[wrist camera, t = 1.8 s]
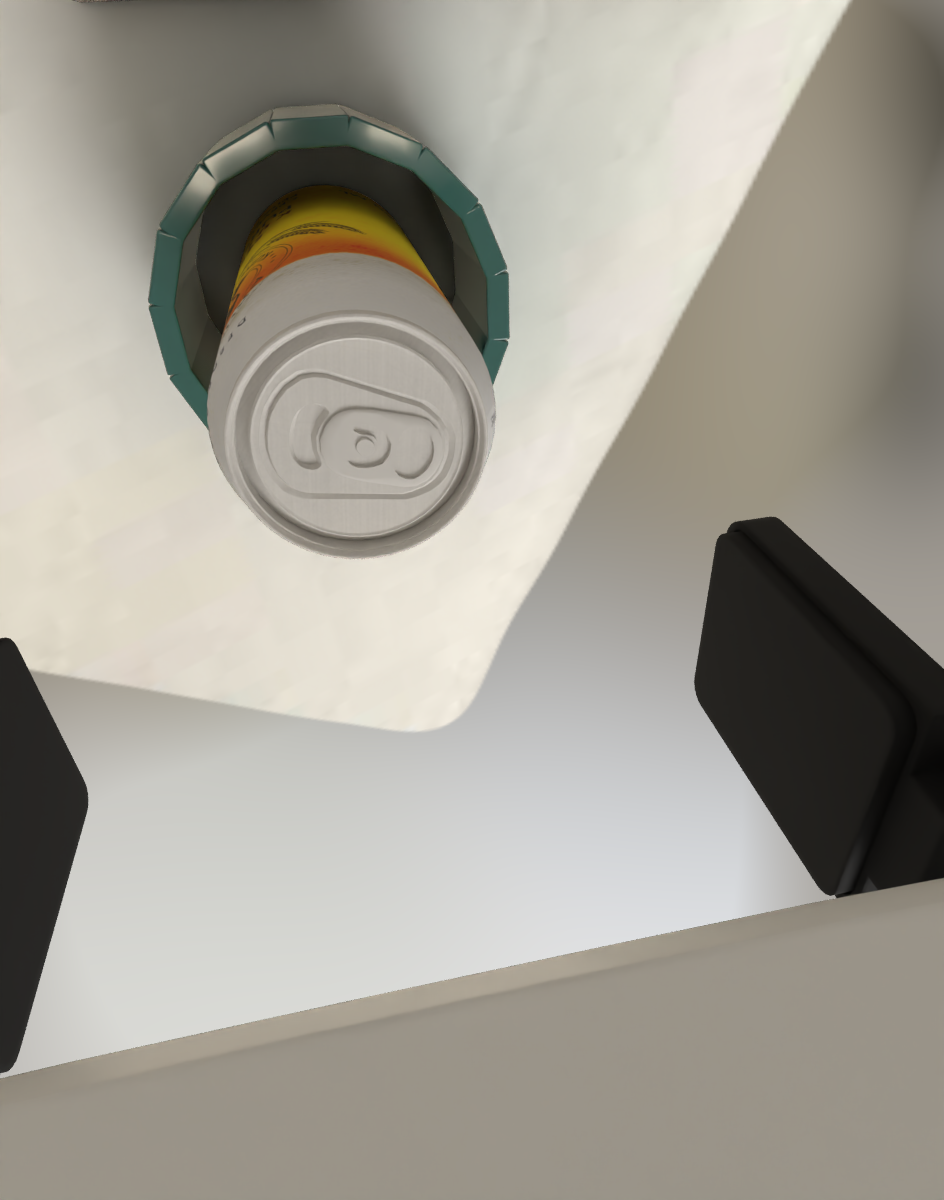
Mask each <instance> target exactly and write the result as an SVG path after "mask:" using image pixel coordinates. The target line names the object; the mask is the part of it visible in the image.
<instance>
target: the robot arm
mask: <svg viewBox="0 0 944 1200" xmlns="http://www.w3.org/2000/svg"><path fill="white" fill-rule="evenodd" d="M694 683H695V691H696V695H697V698H698V701H699V703H700V704H701V706H702V708H703V709H704V711H705V713H706V714H707V715H708V717H709V719H710V720H711V722H712V723H713V724H714V726H715V728H716V729H717V731H718V733H719V734H720V736H721V737H722V739H723V740H724V742H725V743H726V745H727V747H728V748H729V750H730V751H731V753H732V754H733V756H734V757H735V759H736V761H737V762H738V764H739V765H740V767H741V768H742V770H743V771H744V773H745V774H746V776H747V778H748V779H749V781H750V782H751V784H752V785H753V787H754V788H755V790H756V791H757V793H758V795H759V796H760V798H761V799H762V801H763V802H764V803H765V805H766V807H767V808H768V810H769V811H770V813H771V815H772V816H773V818H774V819H775V821H776V822H777V824H778V826H779V827H780V829H781V830H782V832H783V833H784V835H785V836H786V838H787V839H788V841H789V843H790V844H791V845H792V847H793V849H794V850H795V852H796V853H797V855H798V856H799V858H800V859H801V861H802V863H803V864H804V865H805V867H806V869H807V870H808V872H809V873H810V875H811V876H812V878H813V879H814V881H815V883H816V884H817V886H818V887H819V888H820V889H821V890H822V891H823V892H824V893H825V894H827V895H830V896H831V895H835V896H836V899H831V900H825V901H820V902H815V903H810V904H805V905H800V906H795V907H790V908H786V909H781V910H776V911H771V912H766V913H762V914H757V915H752V916H747V917H743V918H738V919H733V920H728V921H723V922H719V923H714V924H709V925H704V926H700V927H694V928H690V929H686V930H680V931H676V932H671V933H666V934H661V935H656V936H652V937H647V938H642V939H637V940H632V941H627V942H623V943H618V944H614V945H608V946H603V947H599V948H594V949H589V950H585V951H580V952H575V953H571V954H566V955H561V956H557V957H552V958H547V959H542V960H538V961H533V962H528V963H524V964H519V965H514V966H510V967H505V968H500V969H496V970H491V971H486V972H482V973H477V974H472V975H467V976H463V977H458V978H454V979H450V980H445V981H439V982H435V983H430V984H426V985H421V986H417V987H412V988H407V989H402V990H398V991H393V992H388V993H384V994H379V995H375V996H370V997H366V998H360V999H356V1000H351V1001H346V1002H342V1003H337V1004H333V1005H328V1006H324V1007H319V1008H314V1009H310V1010H305V1011H300V1012H296V1013H292V1014H287V1015H282V1016H278V1017H273V1018H269V1019H264V1020H260V1021H255V1022H251V1023H246V1024H241V1025H237V1026H232V1027H228V1028H224V1029H219V1030H214V1031H209V1032H205V1033H200V1034H196V1035H191V1036H187V1037H183V1038H177V1039H173V1040H168V1041H164V1042H159V1043H155V1044H150V1045H146V1046H141V1047H136V1048H132V1049H127V1050H123V1051H119V1052H114V1053H109V1054H105V1055H100V1056H95V1057H91V1058H86V1059H82V1060H78V1061H73V1062H68V1063H64V1064H60V1065H56V1066H51V1067H47V1068H43V1069H39V1070H34V1071H30V1072H26V1073H22V1074H18V1075H13V1076H9V1077H5V1078H1V1079H0V1200H944V669H943V668H942V667H941V666H940V665H939V664H938V663H937V662H935V661H934V660H933V659H932V658H931V657H930V656H929V655H928V654H927V653H926V652H925V651H923V650H922V649H921V648H920V647H919V646H918V645H917V644H916V643H915V642H914V641H912V640H911V639H910V638H909V637H908V636H907V635H906V634H905V633H904V632H903V631H902V630H900V629H899V628H898V627H897V626H896V625H895V624H894V623H893V622H892V621H891V620H889V619H888V618H887V617H886V616H885V615H884V614H883V613H882V612H881V611H880V610H878V609H877V608H876V607H875V606H874V605H873V604H872V603H871V602H870V601H869V600H868V599H866V598H865V597H864V596H863V595H862V594H861V593H860V592H859V591H858V590H857V589H856V588H854V587H853V586H852V585H851V584H850V583H849V582H848V581H847V580H846V579H845V578H843V577H842V576H841V575H840V574H839V573H838V572H837V571H836V570H835V569H833V568H832V567H831V566H830V565H829V564H828V563H827V562H826V561H825V560H824V559H823V558H822V557H820V556H819V555H818V554H817V553H816V552H815V551H814V550H813V549H812V548H811V547H809V546H808V545H807V544H806V543H805V542H804V541H803V540H802V539H801V538H799V537H798V536H797V535H796V534H795V533H794V532H793V531H792V530H791V529H790V528H789V527H788V526H786V525H785V524H784V523H783V522H782V521H781V520H780V519H778V518H776V517H765V518H758V519H752V520H745V521H738V522H734V523H732V524H731V525H730V527H729V528H728V530H727V533H725V534H722V535H720V536H719V538H718V539H717V542H716V547H715V553H714V559H713V566H712V572H711V578H710V585H709V591H708V597H707V603H706V610H705V617H704V622H703V629H702V635H701V642H700V647H699V654H698V660H697V666H696V672H695V681H694ZM87 809H88V792H87V787H86V784H85V782H84V780H83V777H82V775H81V773H80V771H79V769H78V767H77V765H76V763H75V761H74V759H73V758H72V755H71V753H70V752H69V749H68V748H67V745H66V743H65V741H64V740H63V738H62V736H61V734H60V732H59V730H58V728H57V726H56V724H55V722H54V720H53V718H52V716H51V714H50V712H49V710H48V708H47V706H46V704H45V702H44V700H43V698H42V696H41V694H40V692H39V690H38V688H37V686H36V684H35V682H34V680H33V678H32V676H31V674H30V672H29V670H28V668H27V666H26V664H25V662H24V660H23V658H22V656H21V654H20V652H19V650H18V648H17V646H16V644H15V643H14V642H13V641H12V640H11V639H9V638H0V1073H3V1072H7V1071H9V1070H10V1069H11V1068H12V1067H13V1065H14V1063H15V1062H16V1060H17V1057H18V1054H19V1051H20V1048H21V1044H22V1041H23V1037H24V1034H25V1030H26V1027H27V1023H28V1019H29V1015H30V1012H31V1009H32V1005H33V1002H34V998H35V994H36V991H37V987H38V984H39V980H40V977H41V973H42V970H43V966H44V963H45V959H46V956H47V952H48V949H49V945H50V941H51V938H52V934H53V931H54V927H55V924H56V920H57V916H58V913H59V910H60V906H61V902H62V898H63V895H64V892H65V888H66V885H67V881H68V878H69V874H70V871H71V866H72V863H73V860H74V856H75V853H76V849H77V846H78V842H79V839H80V835H81V832H82V828H83V824H84V821H85V817H86V814H87Z"/></svg>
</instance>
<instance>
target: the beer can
mask: <svg viewBox="0 0 944 1200" xmlns="http://www.w3.org/2000/svg"><path fill="white" fill-rule="evenodd" d="M495 419H496V411H495V397H494V391H493V385H492V382H491V378H490V375H489V371H488V369H487V366H486V364H485V362H484V359H483V357H482V355H481V353H480V351H479V350H478V348H477V346H476V344H475V343H474V341H473V339H472V338H471V336H470V335H469V333H468V331H467V330H466V328H465V327H464V325H463V324H462V322H461V321H460V319H459V317H458V316H457V314H456V313H455V311H454V310H453V308H452V307H451V305H450V303H449V302H448V300H447V299H446V297H445V296H444V294H443V293H442V291H441V289H440V288H439V286H438V285H437V283H436V282H435V280H434V278H433V277H432V275H431V274H430V272H429V271H428V269H427V268H426V266H425V264H424V263H423V261H422V260H421V258H420V257H419V255H418V254H417V252H416V250H415V249H414V247H413V246H412V244H411V243H410V241H409V240H408V238H407V236H406V235H405V233H404V232H403V230H402V229H401V227H400V226H399V225H398V223H397V222H396V220H395V219H394V218H393V217H392V216H391V215H390V214H389V213H388V212H387V211H386V210H385V209H384V208H383V207H382V206H380V205H379V204H378V203H376V202H375V201H373V200H372V199H371V198H369V197H367V196H365V195H363V194H361V193H359V192H356V191H354V190H351V189H348V188H344V187H339V186H331V185H316V186H309V187H304V188H301V189H297V190H295V191H292V192H290V193H288V194H286V195H284V196H282V197H281V198H279V199H278V200H276V201H275V202H274V203H272V204H271V205H270V206H269V207H268V208H267V209H266V210H265V211H264V212H263V213H262V214H261V215H260V217H259V218H258V220H257V221H256V222H255V224H254V226H253V228H252V229H251V231H250V233H249V236H248V238H247V241H246V244H245V248H244V252H243V255H242V259H241V263H240V267H239V271H238V275H237V279H236V283H235V287H234V291H233V295H232V299H231V303H230V306H229V310H228V314H227V318H226V322H225V326H224V330H223V334H222V338H221V342H220V346H219V350H218V354H217V358H216V361H215V365H214V369H213V373H212V377H211V381H210V385H209V391H208V400H207V422H208V429H209V436H210V440H211V444H212V448H213V451H214V454H215V457H216V459H217V461H218V464H219V466H220V468H221V470H222V472H223V474H224V476H225V477H226V479H227V481H228V482H229V484H230V485H231V487H232V488H233V489H234V491H235V492H236V494H237V495H238V496H239V497H240V498H241V499H242V500H243V501H244V503H245V504H246V505H247V506H248V507H249V509H250V510H251V511H252V512H253V513H254V514H255V516H256V517H257V518H258V519H259V520H260V521H261V522H262V523H263V524H265V525H266V526H267V527H268V528H269V529H270V530H271V531H273V532H274V533H276V534H277V535H279V536H280V537H281V538H283V539H285V540H287V541H288V542H290V543H292V544H294V545H296V546H298V547H300V548H303V549H305V550H307V551H311V552H314V553H317V554H320V555H325V556H329V557H334V558H344V559H369V558H378V557H383V556H388V555H392V554H396V553H399V552H402V551H405V550H408V549H410V548H412V547H415V546H417V545H419V544H421V543H423V542H424V541H426V540H428V539H430V538H431V537H433V536H434V535H436V534H437V533H439V532H440V531H441V530H442V529H444V528H445V527H446V526H447V525H448V524H449V523H451V521H452V520H453V519H454V518H455V517H456V516H457V515H458V514H459V513H460V512H461V510H462V509H463V508H464V507H465V505H466V504H467V503H468V501H469V499H470V498H471V496H472V494H473V493H474V491H475V489H476V487H477V485H478V482H479V480H480V478H481V475H482V472H483V469H484V466H485V464H486V462H487V459H488V456H489V453H490V450H491V447H492V442H493V437H494V431H495Z"/></svg>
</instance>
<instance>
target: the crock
mask: <svg viewBox="0 0 944 1200" xmlns="http://www.w3.org/2000/svg"><path fill="white" fill-rule="evenodd" d="M340 146H349V147H352V148H354V149H357V150H359V151H362V152H365V153H367V154H370V155H372V156H375V157H378V158H380V159H383V160H385V161H388V162H390V163H393V164H396V165H398V166H401V167H403V168H406V169H409V170H411V171H412V172H413V173H414V174H415V175H416V176H417V177H418V178H419V179H420V180H421V181H422V182H423V183H424V184H425V185H426V186H427V187H428V188H429V189H430V190H431V192H432V195H433V197H434V199H435V201H436V204H437V206H438V208H439V210H440V213H441V215H442V217H443V219H444V222H445V224H446V226H447V228H448V231H449V233H450V235H451V237H452V240H453V254H454V273H455V291H456V293H455V296H454V299H453V302H452V305H451V307H452V308H453V310H454V311H455V313H456V314H457V316H458V317H459V319H460V321H461V322H462V324H463V325H464V327H465V328H466V330H467V331H468V333H469V335H470V336H471V338H472V339H473V341H474V343H475V344H476V346H477V348H478V350H479V351H480V353H481V355H482V357H483V359H484V362H485V364H486V366H487V369H488V371H489V375H490V378H491V382H492V385H493V384H494V381H495V378H496V376H497V373H498V370H499V368H500V365H501V362H502V359H503V357H504V354H505V351H506V349H507V346H508V341H507V339H509V337H510V331H509V274H508V272H507V271H506V270H507V265H506V263H505V261H504V258H503V256H502V253H501V251H500V248H499V246H498V243H497V241H496V239H495V236H494V234H493V231H492V229H491V226H490V224H489V221H488V219H487V217H486V214H485V212H484V209H483V207H482V205H481V204H480V203H479V202H478V198H477V197H476V196H475V195H474V194H473V193H472V192H471V191H470V190H469V189H468V188H467V187H466V186H465V185H464V184H463V183H462V182H461V181H460V180H459V179H458V178H457V177H456V176H455V175H454V174H453V173H452V172H451V171H450V170H449V169H448V168H447V167H446V166H445V165H444V164H443V163H442V162H441V161H440V160H439V159H438V158H437V157H436V156H435V155H434V154H433V152H432V151H431V150H430V149H429V148H428V147H426V146H425V145H423V144H422V143H420V142H419V141H417V140H416V139H414V138H413V137H411V136H410V135H408V134H407V133H405V132H404V131H402V130H401V129H399V128H397V127H395V126H393V125H390V124H388V123H385V122H383V121H380V120H378V119H375V118H373V117H370V116H368V115H365V114H363V113H361V112H358V111H356V110H353V109H351V108H348V107H346V106H343V105H339V106H338V105H337V104H323V105H307V106H291V107H276V108H275V109H274V111H273V110H272V109H270V110H268V111H267V112H265V113H263V114H262V115H260V116H258V117H256V118H255V119H253V120H251V121H250V122H248V123H246V124H245V125H243V126H241V127H240V128H238V129H236V130H235V131H233V132H231V133H230V134H228V135H226V136H225V137H223V138H221V139H220V140H219V141H218V142H217V143H216V144H215V145H214V146H213V147H212V148H211V149H210V151H209V152H208V153H207V154H206V155H205V156H204V157H203V158H202V159H201V160H200V162H199V163H198V164H197V165H196V167H195V168H194V170H193V171H192V173H191V175H190V176H189V178H188V179H187V181H186V182H185V184H184V186H183V187H182V189H181V190H180V192H179V194H178V195H177V197H176V198H175V200H174V201H173V203H172V205H171V206H170V208H169V209H168V211H167V212H166V214H165V216H164V217H163V219H162V220H161V222H160V224H159V226H160V227H159V229H158V230H157V232H156V240H155V248H154V256H153V264H152V273H151V281H150V289H149V297H148V302H149V303H150V305H149V311H150V315H151V318H152V322H153V325H154V329H155V332H156V336H157V339H158V343H159V346H160V350H161V353H162V357H163V360H164V364H165V367H166V371H167V374H168V375H171V376H170V380H171V381H172V383H173V384H174V385H175V387H176V388H177V389H178V391H179V392H180V393H181V395H182V396H183V397H184V399H185V400H186V401H187V403H188V404H189V405H190V406H191V408H192V409H193V410H194V412H195V413H196V414H197V416H198V417H199V418H200V420H201V421H202V422H203V424H204V425H205V426H206V428H207V429H208V422H207V400H208V391H209V385H210V381H211V377H212V373H213V369H214V365H215V361H216V358H217V354H218V350H219V346H220V342H221V338H222V335H221V333H220V332H219V330H218V329H217V327H216V326H215V324H214V323H213V321H212V320H211V319H210V317H209V315H208V311H207V307H206V303H205V299H204V295H203V291H202V286H201V282H200V278H199V274H198V270H197V266H196V257H197V251H198V244H199V238H200V231H201V224H202V218H203V211H204V210H205V208H206V207H207V205H208V204H209V202H210V201H211V199H212V198H213V196H214V194H215V193H216V191H217V190H218V188H219V187H220V185H222V184H223V183H225V182H227V181H228V180H230V179H232V178H234V177H235V176H237V175H239V174H240V173H242V172H244V171H245V170H247V169H249V168H251V167H252V166H254V165H256V164H257V163H259V162H261V161H262V160H264V159H266V158H267V157H269V156H271V155H273V154H274V153H276V152H278V151H283V150H297V149H311V148H326V147H340ZM208 430H209V429H208Z"/></svg>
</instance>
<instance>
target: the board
mask: <svg viewBox="0 0 944 1200" xmlns="http://www.w3.org/2000/svg"><path fill="white" fill-rule="evenodd" d="M73 1H77V2H81V3H85V2H108V1H130V0H73Z"/></svg>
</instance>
